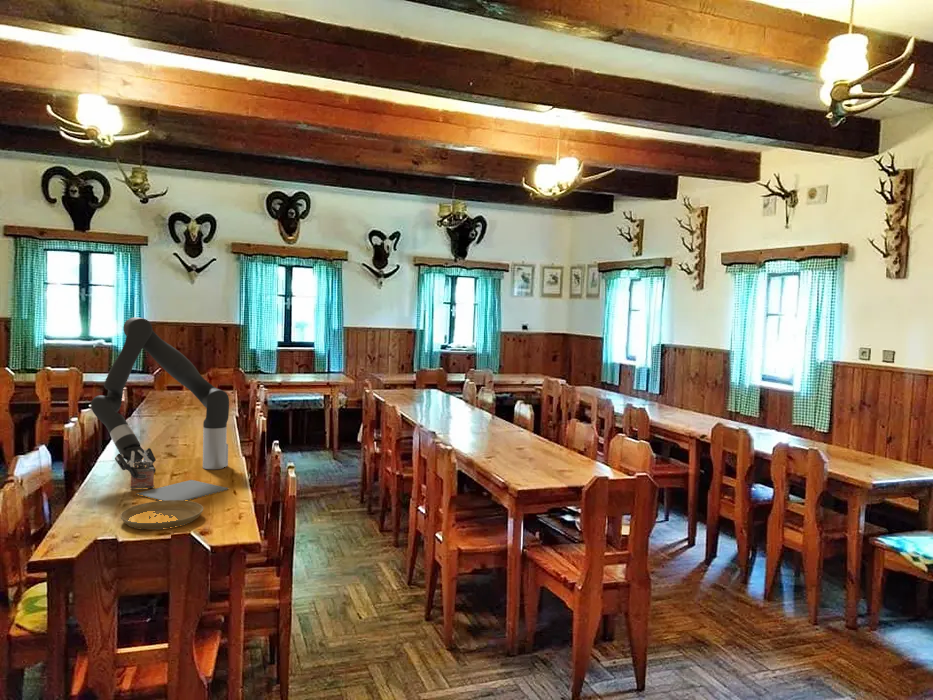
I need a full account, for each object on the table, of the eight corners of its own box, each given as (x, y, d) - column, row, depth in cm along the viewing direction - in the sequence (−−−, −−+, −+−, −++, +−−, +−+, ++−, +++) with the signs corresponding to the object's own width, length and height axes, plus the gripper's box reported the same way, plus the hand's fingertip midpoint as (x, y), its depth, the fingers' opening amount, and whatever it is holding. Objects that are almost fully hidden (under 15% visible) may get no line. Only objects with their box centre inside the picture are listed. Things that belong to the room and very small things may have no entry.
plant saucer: (113, 535, 204) (113, 524, 204) (128, 511, 227) (128, 501, 227) (199, 530, 211) (199, 520, 211) (206, 508, 234) (206, 498, 234)
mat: (191, 481, 266) (191, 479, 266) (228, 489, 257) (228, 487, 257) (135, 495, 245) (135, 493, 245) (173, 504, 236) (173, 502, 236)
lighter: (129, 489, 252) (129, 462, 251) (131, 487, 255) (131, 460, 254) (153, 489, 254) (153, 462, 253) (154, 486, 257) (155, 460, 256)
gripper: (111, 436, 250) (132, 472, 246) (146, 430, 263) (167, 465, 258) (102, 448, 253) (122, 485, 248) (137, 442, 266) (157, 477, 261)
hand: (145, 475), depth 253 cm, fingers closed on lighter, 6 cm apart
